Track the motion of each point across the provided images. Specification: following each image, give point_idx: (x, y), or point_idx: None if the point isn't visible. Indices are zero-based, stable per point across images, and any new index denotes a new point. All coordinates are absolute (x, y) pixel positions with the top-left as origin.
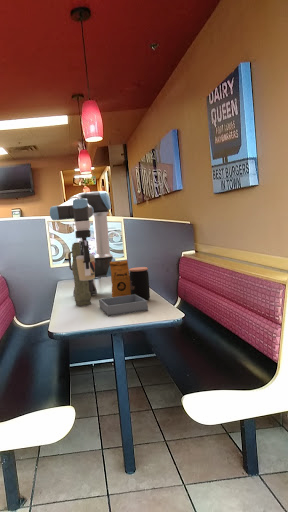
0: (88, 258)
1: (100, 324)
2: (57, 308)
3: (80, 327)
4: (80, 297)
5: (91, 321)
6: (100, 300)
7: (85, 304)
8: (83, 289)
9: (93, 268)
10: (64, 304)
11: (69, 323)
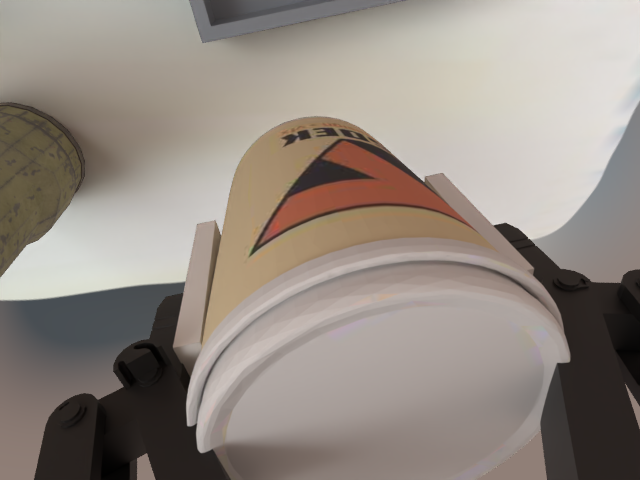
0: (598, 326)
1: (601, 36)
2: (125, 286)
3: (578, 136)
4: (65, 193)
5: (511, 87)
6: (261, 30)
7: (72, 142)
8: (20, 195)
9: (406, 169)
10: (14, 268)
11: (477, 190)
